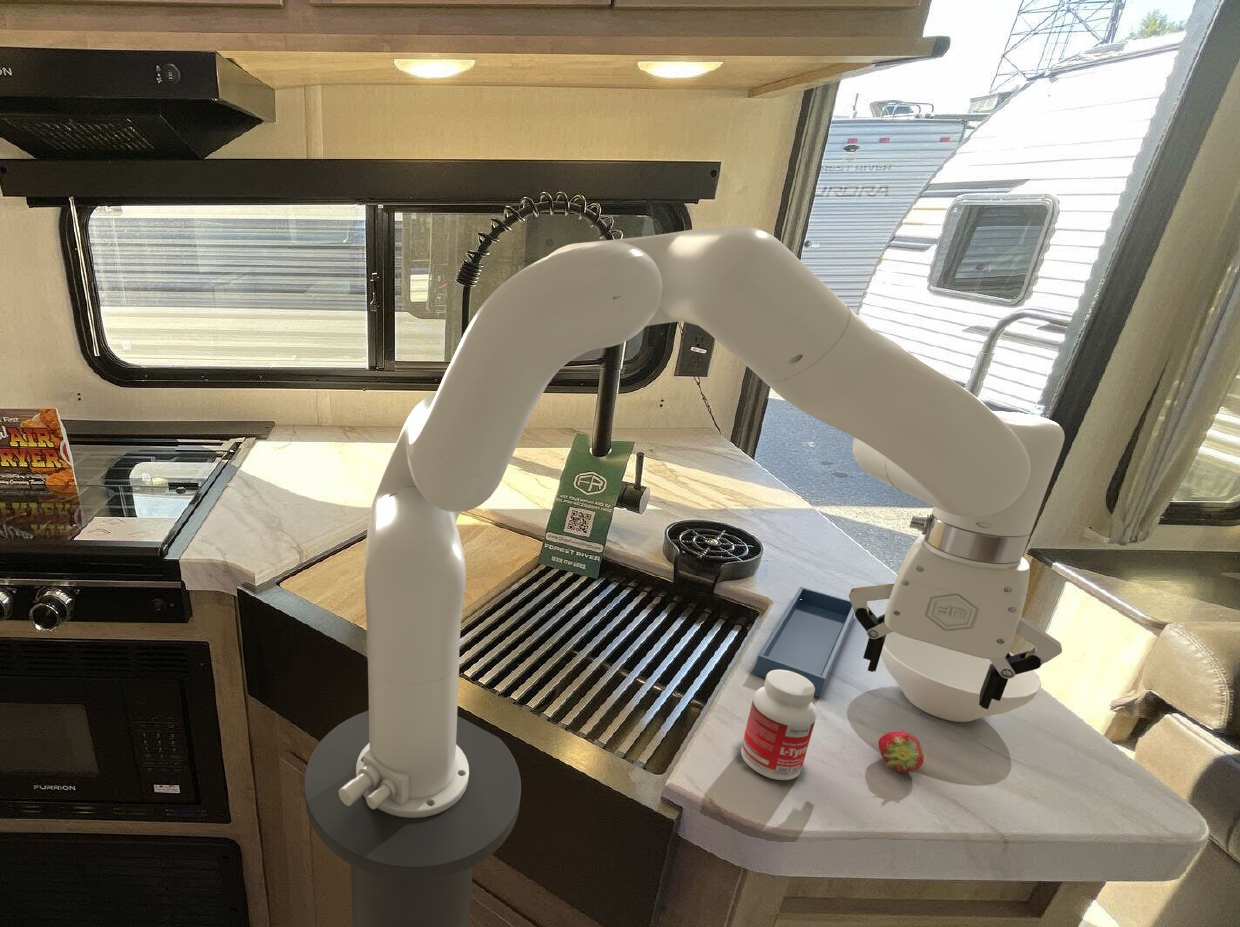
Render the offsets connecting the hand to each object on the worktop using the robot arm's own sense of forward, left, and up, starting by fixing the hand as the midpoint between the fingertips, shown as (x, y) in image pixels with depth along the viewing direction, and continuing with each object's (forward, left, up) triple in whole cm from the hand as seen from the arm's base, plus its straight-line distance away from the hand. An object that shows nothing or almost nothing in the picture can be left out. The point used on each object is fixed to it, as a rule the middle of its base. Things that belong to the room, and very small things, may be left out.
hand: (925, 683), depth 71 cm
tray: (+21, +13, -11) cm, 27 cm away
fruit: (0, 0, -11) cm, 11 cm away
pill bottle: (-9, +11, -11) cm, 18 cm away
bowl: (+17, -3, -11) cm, 20 cm away
